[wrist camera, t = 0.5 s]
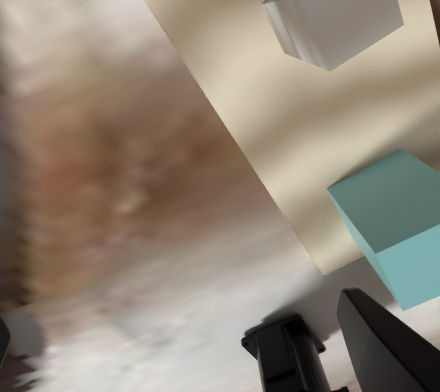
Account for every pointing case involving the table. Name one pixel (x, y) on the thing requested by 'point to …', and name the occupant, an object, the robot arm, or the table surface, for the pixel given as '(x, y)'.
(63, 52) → the table surface
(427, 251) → the teal rectangular block
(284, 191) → the post stand
